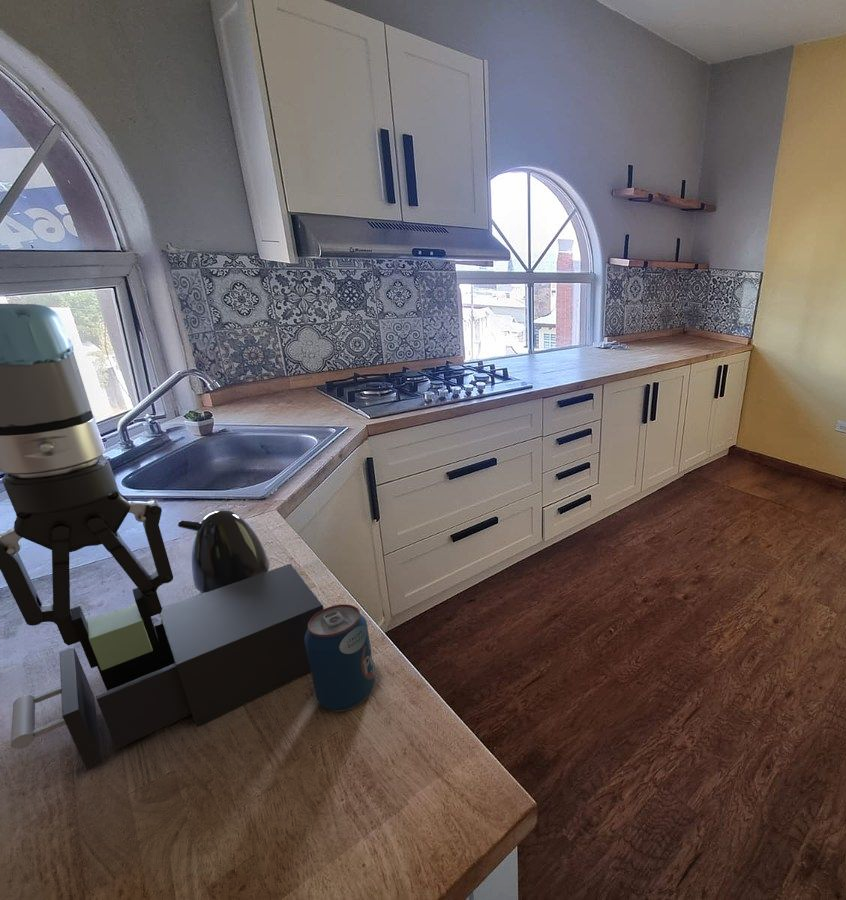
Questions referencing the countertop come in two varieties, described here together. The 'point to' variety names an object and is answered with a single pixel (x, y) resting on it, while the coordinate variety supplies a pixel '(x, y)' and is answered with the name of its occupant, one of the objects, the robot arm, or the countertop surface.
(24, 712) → the drawer
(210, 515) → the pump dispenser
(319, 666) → the soda can
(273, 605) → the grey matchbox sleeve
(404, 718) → the countertop surface
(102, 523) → the robot arm
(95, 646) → the block
